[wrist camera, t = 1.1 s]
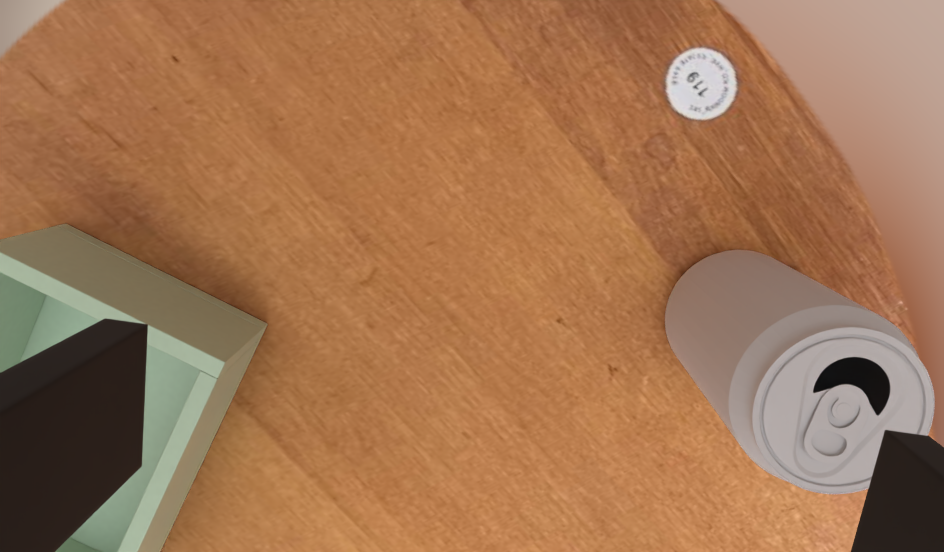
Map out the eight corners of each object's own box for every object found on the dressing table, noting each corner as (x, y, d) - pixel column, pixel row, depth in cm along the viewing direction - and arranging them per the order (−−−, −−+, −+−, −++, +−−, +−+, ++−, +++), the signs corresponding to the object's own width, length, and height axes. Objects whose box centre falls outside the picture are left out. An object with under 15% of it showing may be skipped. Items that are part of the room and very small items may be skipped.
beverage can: (821, 273, 34) (987, 356, 23) (762, 396, 36) (891, 533, 24) (693, 227, 34) (795, 286, 22) (639, 351, 36) (708, 468, 24)
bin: (65, 222, 35) (-18, 243, 30) (268, 323, 36) (225, 362, 30) (-39, 488, 38) (-132, 553, 33) (149, 575, 39) (90, 654, 33)
